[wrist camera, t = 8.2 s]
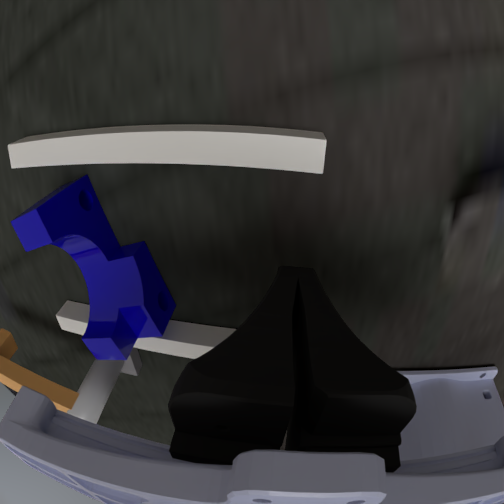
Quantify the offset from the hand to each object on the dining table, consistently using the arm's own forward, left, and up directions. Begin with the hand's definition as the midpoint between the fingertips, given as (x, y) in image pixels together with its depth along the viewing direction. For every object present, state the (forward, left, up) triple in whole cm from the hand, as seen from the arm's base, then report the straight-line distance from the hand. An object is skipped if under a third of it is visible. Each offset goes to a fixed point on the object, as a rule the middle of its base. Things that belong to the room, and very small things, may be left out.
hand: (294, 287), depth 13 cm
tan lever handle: (+15, +7, -1) cm, 17 cm away
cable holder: (+9, 0, -2) cm, 9 cm away
